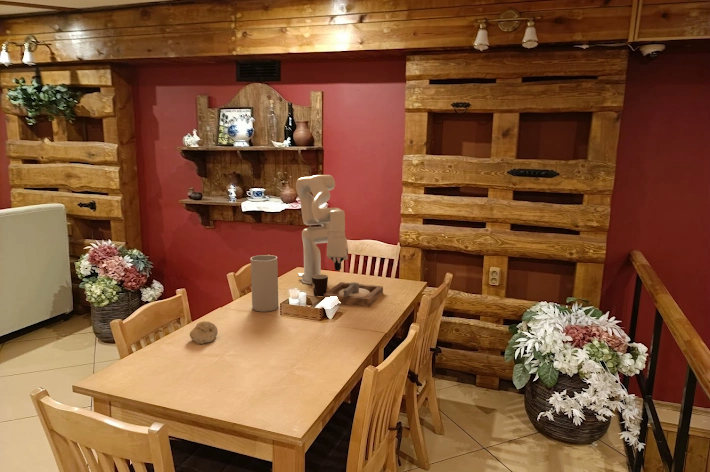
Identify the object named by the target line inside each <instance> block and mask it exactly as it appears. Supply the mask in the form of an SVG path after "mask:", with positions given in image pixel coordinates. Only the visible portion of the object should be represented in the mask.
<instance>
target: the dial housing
mask: <svg viewBox="0 0 710 472" xmlns="http://www.w3.org/2000/svg"><path fill="white" fill-rule="evenodd" d="M349 283H350V282H342V281H341V282H339V283H337V284H336V285H335V286H333V287H332V288H331V289H329V290H328V291H327V292H326V293H325V294H324V296H323V299H324V298H325V297H330V296H337V297H338V299H339V301H340V302H341V304H340V305H346V306H353V307H355V306H356V307H363V308H370V307H371V306H372V305H374V303H375V302H376V301H377V300H378V299H379V298H380V297H382V295H383V294H384V286H381V285H373V284H364V283H363V284H362V283H359V288H363V289H366V290H368V291H369V292H370V294H369V295H368V296H367V297H357V296H347V297H345V296H344V295H339V291H340V290H342V289H346V288H347V287H349Z"/></svg>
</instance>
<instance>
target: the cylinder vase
mask: <svg viewBox="0 0 710 472" xmlns="http://www.w3.org/2000/svg"><path fill="white" fill-rule="evenodd" d="M278 269H279V268H278V256H276V255H273V254H272V255H270V254H261V255H254V256H251V257H250V277H251V278H250V280H251V282H250V283H251V303H252V304H251V305H252V307H251V308H252V309H253V310H254V311H255V312H260V313H268V312H272V311H276V310H277V309H278V308H279V282H278V281H279V277H278V276H279V274H278V271H279V270H278Z"/></svg>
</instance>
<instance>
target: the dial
mask: <svg viewBox="0 0 710 472" xmlns="http://www.w3.org/2000/svg"><path fill="white" fill-rule="evenodd" d="M348 283H349V287H347V288H346V289H342V290H340V291H339V295H344V296H345V297H347V296H357V297H367V296H368V295H369V294H370V292H369V291H368V290H366V289H363V288H359V284H360V283H359V282H348Z"/></svg>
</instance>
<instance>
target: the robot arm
mask: <svg viewBox="0 0 710 472" xmlns="http://www.w3.org/2000/svg"><path fill="white" fill-rule="evenodd" d="M335 187H336V181H335V178H334V177H333V176H332V175H330V174H316V175H312V176H304V177H300V178H298V179H297V180H296V182H295V189H296V194H297V196H298V199H299V202H300V209H301V217H302V222H303V224H304V225H306V226H310V227H306V228H304V229H303V230H302V231H301V240H302V245H303V246H302V247H303V273H302V272H298V275H297V277H298V278H301V282H302V283H303V284H307V285H313V283H312V276H313V275H319V274H322V273H321V271H322V270H321V269H322V268H321V262H322V261H321V250H320V248H319V247H318V244H327V245H326V257H327V259H330V260H331V261H332V262H333V263H334V264H333V265H334V271H335V272H336V271H337V272H339V271H341V269H342V262H343V261H346V260H348V259H349V245H348V240H347V237H346V221H345V219H346V216H345V210H343V209H341V208H339V207H320V206H322V205H323V204H326V203H327V202H328V201H329V200H330V199H331V192H330V191H333V190H334V189H335ZM311 193H312V194H311ZM313 225H321V226H313Z"/></svg>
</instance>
